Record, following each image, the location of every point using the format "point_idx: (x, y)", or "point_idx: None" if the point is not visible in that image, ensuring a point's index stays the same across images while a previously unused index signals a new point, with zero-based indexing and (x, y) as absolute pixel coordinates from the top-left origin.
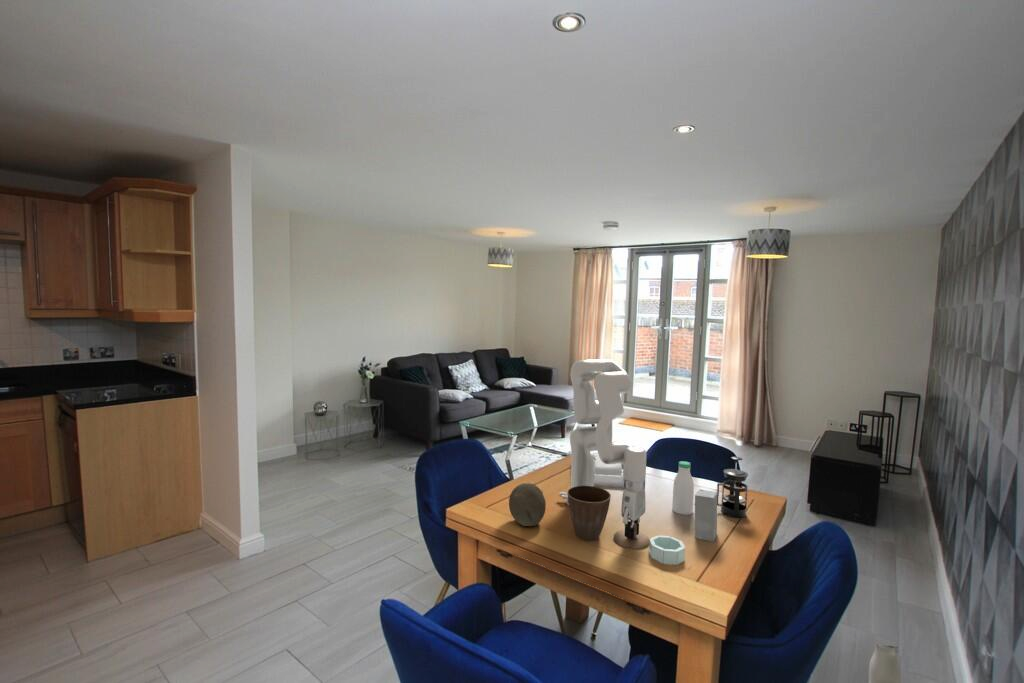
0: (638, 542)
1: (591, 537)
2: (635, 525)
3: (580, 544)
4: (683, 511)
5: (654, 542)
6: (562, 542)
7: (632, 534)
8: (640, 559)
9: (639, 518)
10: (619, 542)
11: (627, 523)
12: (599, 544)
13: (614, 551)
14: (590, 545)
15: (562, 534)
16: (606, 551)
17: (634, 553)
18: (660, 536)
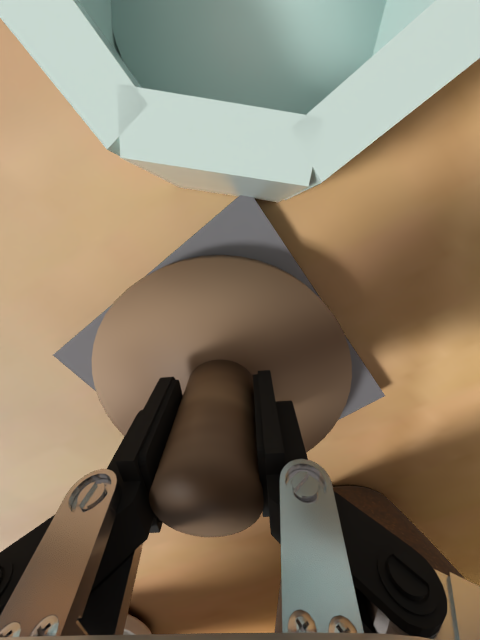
0: (246, 324)
1: (412, 525)
2: (212, 468)
3: (425, 508)
4: None
5: (397, 37)
6: (450, 551)
7: (274, 400)
8: (417, 204)
9: (52, 537)
10: (342, 410)
11: (468, 596)
12: (371, 462)
13: (402, 382)
14: (408, 481)
15: None
16: (429, 409)
17: (351, 285)
18: (103, 83)
